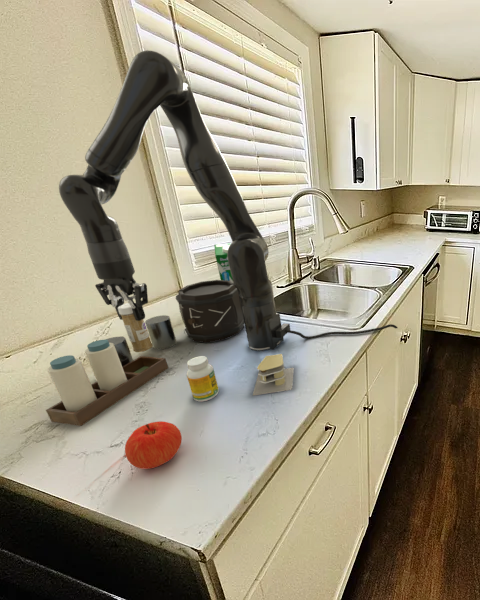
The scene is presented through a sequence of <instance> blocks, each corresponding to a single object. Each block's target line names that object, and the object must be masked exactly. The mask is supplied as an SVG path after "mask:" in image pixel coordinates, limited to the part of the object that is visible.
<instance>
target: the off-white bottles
mask: <svg viewBox="0 0 480 600" xmlns="http://www.w3.org/2000/svg"><path fill="white" fill-rule="evenodd" d="M86 347H87V349H85V351H84V353H85V357H86V358H87V360H88V363H89V366H90V368H91V371H92V372H93V375H94V378H95V380H96V381H97V382H98V385H99V387H100V390H106V391H111V390H113V389H114V388H116V387H118V386H119V385H121V384H123V383H124V382H126V381H127V378H126V375H125V373H124V370H123V367H122V365H121V362H120V360H119V357H118V354H117V352H116V349H115V346H114V344H113V343H109V342H108V340H105V339H99V340H95V341H92V342H89V343H88V344H87V346H86ZM49 365H50V366H48V368H47V372H48V374H49V376H50V379H51V382H52V383H53V384H54V388H55V389H56V392H57V393H58V396H59V398H60V400H61V401H62V402H63V404H64V406H65V408H66V410H67V411H71V412H77V411H79V410H80V409H82V408H84V407H85V406H87V405H89V404H90V403H92V402H93V401H95V400H97V397H96V395H95V392H94V390H93V388H92V385H91V384H92V383H91V381H90V379H89V376H88V373H87V372H86V369H85V367H84V364H83V362H82V360H81V359H80V358H75V356H74V355H71V354H69V355H63V356H60V357H57V358H55V359H53V360H51V361H50V362H49Z"/></svg>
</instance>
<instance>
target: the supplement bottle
mask: <svg viewBox="0 0 480 600" xmlns="http://www.w3.org/2000/svg"><path fill="white" fill-rule="evenodd" d="M186 364H187V369H188V370H187V371H186V378H187V381H188V384H189V388H190V391H191V395H192V398H193V400H194V401H196V402H199V403H202V402H207V401H209V400H212V399H214V398H215V397H216V396H217V395H218V394H219V391H220V389H219V386H218V381H217V377H216V374H215V370H214V366H213V364H210V363H209V360H208V357H207V356H205V355H199V356H195V357H193V358H190V359H188V361H187V362H186Z"/></svg>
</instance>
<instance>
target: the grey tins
mask: <svg viewBox="0 0 480 600" xmlns="http://www.w3.org/2000/svg"><path fill="white" fill-rule="evenodd" d="M144 322H145V325H146V328H147V331H148V334H149V337H150V340H151V343H152V344H153V346H152V348H153V349H154V350H155V351H156V350H157V351H158V350H159V351H160V350H166V349H169V348H172V347H174V346H176V344H177V343H178V341H177V338H176V334H175V331H174V327H173V324H172V320H171V317H170V315H166V314H163V315H157V316H153V317H150V318H148V319H145V320H144ZM104 340H108V342H109V343H113V344H114V346H115V349H116V352H117V354H118V357H119V360H120V362H121V365H122V366H124V365H126V364H128V363H130V362H131V361H133V360H134V358H133V355H132V353H131V350H130V347H129V344H128V342H127V338H126V337H124V336H114V337H113V336H112V337H108V338H105V339H104Z"/></svg>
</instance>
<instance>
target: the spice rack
mask: <svg viewBox="0 0 480 600" xmlns="http://www.w3.org/2000/svg"><path fill="white" fill-rule="evenodd" d="M122 367H123V370H124V373H125V375H126V378H127V381H126V382H124V383H123V384H121V385H119V386H118V387H116V388H114V389H113V390H111V391H106V390H100V387H99V385H98V382H97V380H96V381H95V382H92V383H91V385H92V388H93V390H94V392H95V395H96V397H97V400H95V401H93V402H92V403H90V404H89V405H87V406H85V407H84V408H82V409H80V410H79V411H77V412H71V411H67V410H66V408H65V406H64V404H63V402H62V400H61V401H59V402H57V403H56V404H53V405H52V406H50V407H48V408H47V409H45V412H46V414H47V416H48V418H49V420H50V422H52V423H56V424H65V425H71V426H77V427H82V426H83V425H85V424H87V423H88V422H89V421H91V420H92V419H94V418H96V417H97V416H98V415H100V414H101V413H103V412H105V411H106V410H107V409H109V408H111V407H112V406H114V405H116V403H119V402H120V401H122V400H123V399H124V398H125V397H126V398H127V396H129V395H130V394H133V392H135V391H136V390H138V389H139V388H141V387H142V386H144V385H146V384H147V383H149V382H150V381H151V380H153V379H154V378H156V377H157V376H159V375H161V374H162V373H163V372H165V371H167V370H168V369H169V365H168V362H167V360H166V357H156V356H155V357H154V356H145V355H140V356H139V357H137V358H135V359H133V361H131V362H130V363H128V364H126V365H124V366H122Z"/></svg>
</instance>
